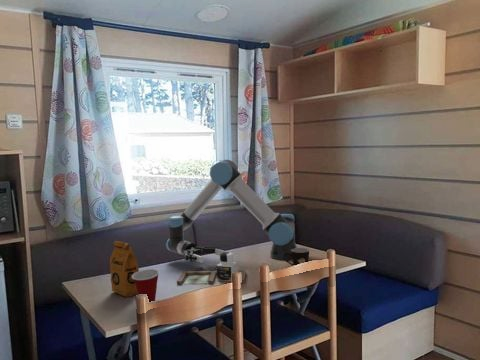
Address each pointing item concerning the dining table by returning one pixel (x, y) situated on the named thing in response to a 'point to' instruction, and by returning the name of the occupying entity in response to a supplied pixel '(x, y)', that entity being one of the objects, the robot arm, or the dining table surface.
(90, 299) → the dining table surface
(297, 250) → the coffee mug
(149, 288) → the plastic cup
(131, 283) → the coffee package
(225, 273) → the medicine bottle
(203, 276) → the wooden tray frame
